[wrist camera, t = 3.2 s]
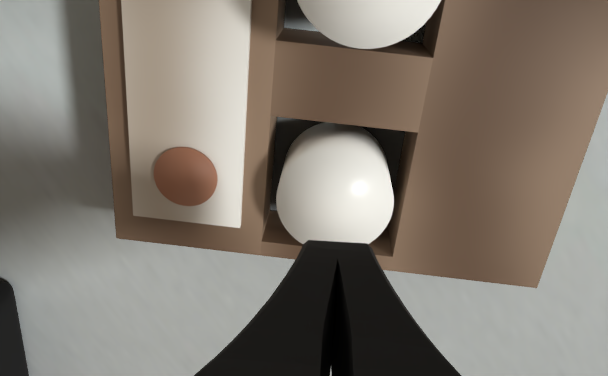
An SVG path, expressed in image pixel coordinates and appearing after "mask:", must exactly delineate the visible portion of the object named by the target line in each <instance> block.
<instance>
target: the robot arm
mask: <svg viewBox="0 0 608 376" xmlns="http://www.w3.org/2000/svg"><path fill="white" fill-rule="evenodd" d="M330 368H331V369H332V376H461V375H460V374H459V373H458V372H457V371H456V369H455V368H454V367H453V366H452V365H451V364H450V363H449V362H448V361H447V360H446V359H445V357H444V356H443V355H442V354H441V353H440V352H439V350H438V349H437V348H436V347H435V346H434V344H433V343H432V342H431V341H430V340H429V338H428V337H427V336H426V334H425V333H424V332H423V331H422V329H421V328H420V327H419V325H418V324H417V323H416V321H415V320H414V319H413V317H412V316H411V314H410V313H409V312H408V310H407V309H406V307H405V306H404V304H403V303H402V301H401V300H400V298H399V297H398V295H397V294H396V292H395V291H394V289H393V287H392V286H391V284H390V282H389V281H388V279H387V277H386V275H385V274H384V272H383V270H382V268H381V266H380V264H379V262H378V260H377V258H376V256H375V254H374V252H373V249H372V248H371V247H370V246H369V245H368V243H351V242H334V241H318V240H308V241H307V242H305V243H304V244H303V245H302V248H301V250H300V252H299V254H298V256H297V258H296V260H295V262H294V263H293V265H292V267H291V268H290V270H289V271H288V273H287V275H286V276H285V278H284V279H283V280H282V282H281V283H280V285H279V286H278V287H277V289H276V290H275V292H274V293H273V294H272V296H271V297H270V298H269V300H268V301H267V302H266V303H265V305H264V306H263V307H262V308H261V309H260V311H259V312H258V313H257V314H256V315H255V317H254V318H253V319H252V320H251V321H250V322H249V324H248V325H247V326H246V327H245V328H244V329H243V330H242V331H241V332H240V333H239V334H238V335H237V336H236V337H235V338H234V340H233V341H232V342H231V343H229V344H228V345H227V346H226V347H225V348H224V349H223V350H222V351H221V352H220V353H219V354H218V355H217V356H216V357H215V358H214V359H212V360H211V361H210V362H209V363H208V364H207V365H206V366H204V367H203V368H202V369H201V370H200V371H199V372H197V373H196V374H195V375H194V376H329V375H330Z"/></svg>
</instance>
